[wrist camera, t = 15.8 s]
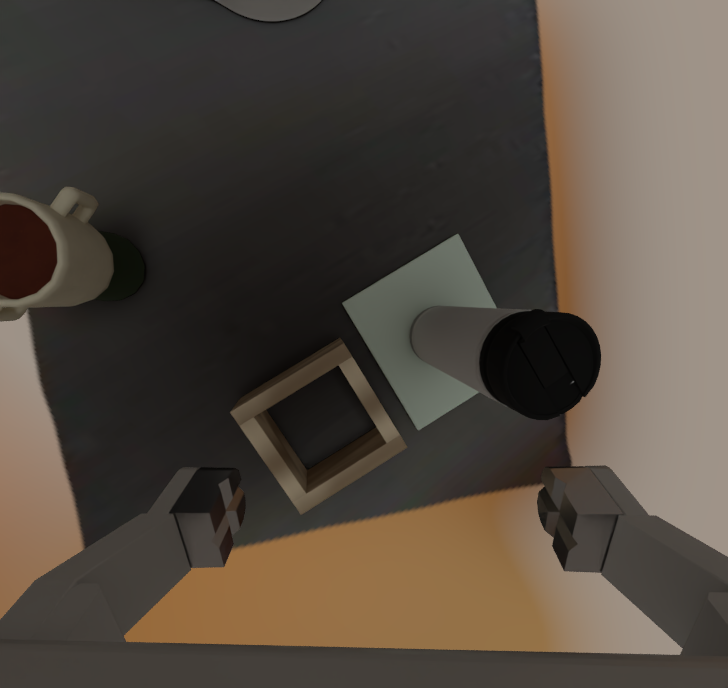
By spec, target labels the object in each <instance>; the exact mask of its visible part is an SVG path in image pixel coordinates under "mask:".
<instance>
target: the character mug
mask: <svg viewBox="0 0 728 688" xmlns="http://www.w3.org/2000/svg"><path fill="white" fill-rule="evenodd" d="M76 203H77V204H79V206H78V207H77V209H76V210H75V211H74V213H73V214H70V213H69V212H70V210H71V209H72V207H73V206H74V204H76ZM98 205H99V204H98V202H97V200H96V199H95V198H94V196H92V195H90V194H87V193H85V192H83V191H81V190H79V189H77V188H73V187H64V188H63V189H62V190H61V191H60V192H59V194H58V195H57V197H56V198H55V200H54V201H53V203H52V204H51V205H50V206H49V205H46V204H43V203H40V202H37V201H34V200H31V199H28V198H26V197H23V196H20V195H18V194H12V193H1V192H0V321H13V320H17V319H19V318H20V317H21V316H22V315H23V314H24V313H25V312H26V310H27V309H28V307H63V306H75V305H78V304H81V303H84V302H87V301H90V300H93V299H96V300H102V301H111V300H122V299H124V298H126V297H128V296H130V295H132V294H134V293H135V292H136V291H137V289H138V288H139V287H140V285H141V284H142V282H143V281H144V268H145V265H144V263H143V260H142V258H141V255H140V253H139V251H138V250H137V249H136V248H135V247H134V246H133V245H132V244H131V243H130V242H129V241H128V239H125V238H123V237H121V236H118V235H116V234H114V233H108V232H102V231H97V230H96V229H95V228H94V227H93V226H92V225H91V224H90V223H89V222H88V221H89V219H90V218H91V216H92V215H93V214H94V212H95V211H96V209H97V207H98Z"/></svg>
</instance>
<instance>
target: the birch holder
mask: <svg viewBox="0 0 728 688" xmlns="http://www.w3.org/2000/svg"><path fill="white" fill-rule="evenodd" d="M338 365H339V367H340V369H341V370H342V372H343V373H344V375H345V377H346V378H347V380H348V381H349V383H350V385H351V386H352V388H353V390H354V391H355V393H356V394H357V396H358V398H359V399H360V401H361V403H362V404H363V406H364V407H365V409H366V411H367V412H368V414H369V415H370V417H371V419H372V420H373V422H374V424H375V425H376V428H374V429H372V430H371V431H369V432H368V433H366V434H364V435H363V436H361V437H360V438H358V439H356V440H355V441H353V442H352V443H350V444H348V445H347V446H345V447H344V448H342V449H341V450H339V451H337V452H336V453H334V454H333V455H331V456H329V457H328V458H326V459H325V460H323V461H321V462H320V463H318V464H317V465H315V466H313V467H312V468H310V469H309V470H306V468H305V467H304V465H303V464H302V462H301V461H300V459H299V458H298V456H297V455H296V453H295V452H294V450H293V449H292V447H291V446H290V444H289V443H288V441H287V440H286V438H285V437H284V435H283V434H282V432H281V431H280V430H279V428H278V427H277V425H276V424H275V422H274V421H273V419H272V418H271V416H270V415H269V413H268V412H267V410H266V409H268V408H269V407H271V406H273V405H274V404H276V403H277V402H279V401H281V400H282V399H284V398H286V397H287V396H289V395H291V394H292V393H294V392H295V391H297V390H299V389H300V388H302V387H304V386H305V385H307V384H309V383H310V382H312V381H313V380H315V379H317V378H318V377H320V376H322V375H323V374H325V373H326V372H328V371H330V370H331V369H333V368H335V367H336V366H338ZM230 413H231V414H232V416H233V417H234V419H235V420H236V422H237V423H238V425H239V426H240V427H241V429H242V430H243V432H244V433H245V435H246V436H247V437H248V439H249V440H250V442H251V443H252V445H253V446H254V448H255V449H256V450H257V452H258V453H259V455H260V456H261V458H262V459H263V461H264V462H265V463H266V465H267V466H268V468H269V469H270V471H271V472H272V473H273V475H274V476H275V478H276V479H277V481H278V482H279V484H280V485H281V486H282V488H283V489H284V491H285V492H286V494H287V495H288V497H289V498H290V499H291V501H292V502H293V504H294V505H295V507H296V508H297V509H298V511H299V512H300V514H301V515H302V514H303V513H305V512H306V511H308V510H310V509H311V508H313V507H314V506H316V505H317V504H319V503H321V502H322V501H324V500H325V499H327V498H328V497H330V496H332V495H333V494H335V493H336V492H338V491H339V490H341V489H343V488H344V487H346V486H347V485H349V484H351V483H352V482H354V481H355V480H357V479H358V478H360V477H362V476H363V475H365V474H366V473H368V472H369V471H371V470H373V469H374V468H376V467H377V466H379V465H380V464H382V463H384V462H385V461H387V460H388V459H390V458H392V457H393V456H395V455H396V454H398V453H399V452H401V451H403V450H404V449H406V448H407V446H406V444H405V443H404V441H403V439H402V438H401V436H400V434H399V433H398V431H397V429H396V428H395V426H394V424H393V423H392V421H391V420H390V418H389V416H388V415H387V413H386V411H385V410H384V408H383V406H382V405H381V403H380V401H379V400H378V398H377V397H376V395H375V393H374V392H373V390H372V388H371V387H370V385H369V383H368V382H367V380H366V378H365V377H364V375H363V373H362V372H361V370H360V369H359V367H358V365H357V364H356V362H355V360H354V359H353V357H352V355H351V354H350V352H349V350H348V349H347V347H346V346H345V344H344V342H343V341H342V340H341V338H339V339H337V340H335V341H334V342H332V343H330V344H329V345H327V346H325V347H324V348H322V349H320V350H319V351H317V352H315V353H314V354H312V355H311V356H309V357H307V358H306V359H304V360H302V361H301V362H299V363H297V364H296V365H294V366H292V367H291V368H289V369H287V370H286V371H284V372H283V373H281V374H279V375H278V376H276V377H274V378H273V379H271V380H269V381H268V382H266V383H264V384H263V385H261V386H259V387H258V388H256V389H255V390H253V391H251V392H250V393H248V394H246V395H245V396H243V397H241V398H240V399H239V401H238V402H237V403H236V405H235V406H234V408H233V409H232V410H231V412H230Z"/></svg>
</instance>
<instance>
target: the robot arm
mask: <svg viewBox="0 0 728 688" xmlns="http://www.w3.org/2000/svg"><path fill="white" fill-rule="evenodd" d="M215 1H217V2H218V3H220V4H222V5H223V6H225V7H227V8H229V9H230V10H232V11H234V12H236V13H238V14H240V15H243V16H245V17H248V18H252V19H256V20H261V21H283V20H288V19H292V18H295V17H298V16H300V15H302V14H304V13H306V12H308V11H310V10H311V9H312V8H314V7H315V6H316V5H317V4H319V3H320V2H321V1H322V0H215ZM541 480H542V482H543V484H544V486H545V487H544V488H543V489H541V491H539V493H538V500H537V505H538V514H539V517H540V521H541V523H542V526H543V528H544V530H545V531H546V532H547V533H549V534H550V535H551V536H552V537H554V540H553V545H552V546H553V549H554V551H555V553H556V555H557V557H558V559H559V561H560V563H561V565H562V567H563V570H564V571H574V572H598V573H602V575H603V576H604V577H605V578H606V579H607V580H608V581H609V582H610V583H611V584H612V585H613V586H615V587H616V588H617V589H618V590H619V591H620V592H621V593H622V594H623V595H624V596H626V597H627V598H628V599H629V600H630V601H631V602H632V603H633V604H634V605H636V606H637V607H638V608H639V609H640V610H641V611H642V612H643V613H644V614H645V615H646V616H648V617H649V618H650V619H651V620H652V621H653V622H654V623H655V624H656V625H658V626H659V627H660V628H661V629H662V630H663V631H664V632H665V633H666V634H668V636H670V637H671V638H672V639H673V640H674V641H675V642H676V643H677V644H678V645H680V646H681V647H682V648H683V649H682V652H681V654H680V655H655V654H612V653H611V654H610V653H571V652H569V653H568V652H525V651H523V652H522V651H478V650H476V651H475V650H434V649H394V648H353V647H351V648H350V647H313V646H312V647H311V646H271V645H230V644H229V645H228V644H187V643H144V642H126V640H125V638H124V635H125V634H126V633H127V632H128V631H129V630H130V629H131V628H132V627H133V626H134V625H135V624H136V623H137V622H138V621H139V620H140V619H141V618H142V617H143V616H144V615H145V614H146V613H147V612H148V611H149V610H150V609H151V608H152V607H153V606H154V605H155V604H156V603H158V602H159V601H160V599H162V598H163V597H164V596H165V595H166V594H167V593H168V592H169V591H170V590H171V589H172V588H173V587H174V586H175V585H176V584H177V583H178V582H179V581H180V580H181V579H182V578H183V577H184V576H185V575H186V574H187V573H188V572H189V571H190V570H191V568H204V567H224V566H225V564H226V561H227V559H228V557H229V554H230V552H231V549H232V547H233V545H234V542H233V538H232V535H233V534H234V533H236V532H237V531H238V530H239V529H240V528H241V525H242V523H243V520H244V515H245V510H246V499H245V494H244V492H243V491H242V490H241V489H240V488H239V487H238V486H239V484H240V481H241V476H240V472H239V470H238V469H236V468H214V467H201V468H196V467H183V468H181V469H179V470H178V471H177V473H176V474H175V475H174V477H173V478H172V480H171V481H170V482H169V484H168V485H167V486H166V488H165V489H164V491H163V492H162V493H161V495H160V496H159V498H158V499H157V500H156V502H155V503H154V504H153V506H152V507H151V509H150V510H149V511H148V513H147V514H140V515H138V516H137V517H135V518H134V519H132V520H130V521H129V522H127V523H126V524H124V525H122V526H121V527H119V528H118V529H116V530H115V531H113V532H111V533H110V534H108V535H107V536H105V537H103V538H102V539H100V540H99V541H97V542H95V543H94V544H92V545H91V546H89V547H87V548H86V549H84V550H83V551H81V552H80V553H78V554H77V555H75V556H73V557H72V558H70V559H68V560H67V561H65V562H64V563H62V564H60V565H59V566H57V567H56V568H54V569H53V570H51V571H49V572H48V573H46V574H44V575H43V576H41V577H40V578H38V579H37V580H35V581H34V582H33V583H32V584H31V586H30V587H29V588H28V589H27V590H26V591H25V592H24V593H23V595H22V596H21V597H20V598H19V599H18V600H17V602H16V603H15V604H14V605H13V606H12V607H11V608H10V610H8V612H7V613H6V614H5V615H4V616H3V617H2V618H1V620H0V688H728V557H727V556H725V555H723V554H722V553H720V552H718V551H716V550H715V549H713V548H711V547H709V546H708V545H706V544H704V543H703V542H701V541H699V540H697V539H696V538H694V537H692V536H690V535H689V534H687V533H685V532H683V531H682V530H680V529H678V528H676V527H675V526H673V525H671V524H669V523H668V522H666V521H664V520H663V519H661V518H659V517H657V516H649V515H648V514H647V512H646V511H645V510H644V509H643V507H642V506H641V505H640V504H639V502H638V501H637V500H636V499H635V498H634V496H633V495H632V494H631V493H630V491H629V490H628V489H627V488H626V487H625V485H624V484H623V483H622V482H621V481H620V479H619V478H618V477H617V476H616V474H615V473H614V472H613V471H612V470H611V469H610V468H609V467H607V466H585V467H583V466H579V467H545V468H544V470H543V471H542V476H541Z"/></svg>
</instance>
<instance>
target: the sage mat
mask: <svg viewBox="0 0 728 688" xmlns="http://www.w3.org/2000/svg"><path fill="white" fill-rule="evenodd" d="M342 305H343V306H344V308H345V310H346V311H347V313H348V315H349V316H350V318H351V320H352V321H353V323H354V325H355V326H356V328H357V330H358V332H359V333H360V335H361V337H362V338H363V340H364V342H365V343H366V345H367V347H368V348H369V350H370V352H371V353H372V355H373V357H374V358H375V360H376V362H377V363H378V365H379V367H380V368H381V370H382V372H383V373H384V375H385V377H386V378H387V380H388V382H389V383H390V385H391V387H392V388H393V390H394V392H395V394H396V395H397V397H398V399H399V400H400V402H401V404H402V405H403V407H404V409H405V410H406V412H407V414H408V415H409V417H410V419H411V420H412V422H413V424H414V425H415V427H416V428H417V430H420V429H422V428H423V427H425V426H426V425H428V424H430V423H431V422H433V421H434V420H436V419H437V418H439V417H441V416H442V415H444V414H445V413H447V412H449V411H450V410H452V409H453V408H455V407H456V406H458V405H460V404H461V403H463V402H464V401H466V400H468V399H469V398H471V397H472V396H474V395H475V394H477V393H479V392H478V391H477V390H475V389H473V388H471V387H469V386H467V385H466V384H464V383H462V382H460V381H458V380H457V379H455V378H453V377H451V376H449V375H448V374H446V373H444V372H442V371H440V370H438V369H437V368H435V367H433V366H431V365H429V364H428V363H426V362H424V361H422V360H421V359H420V358H418V357H417V355H416V354H415V353H414V351H413V349H412V347H411V344H410V337H409V336H410V329H411V326H412V323H413V321H414V319H415V318H416V317H417V316H418V315H419V314H420V313H421V312H422V311H424V310H425V309H427V308H430V307H433V306H455V307H477V308H496V306H495V304H494V302H493V300H492V298H491V296H490V294H489V292H488V290H487V288H486V287H485V285H484V283H483V281H482V279H481V277H480V275H479V273H478V271H477V269H476V267H475V265H474V263H473V261H472V259H471V258H470V256H469V254H468V252H467V250H466V248H465V246H464V244H463V242H462V240H461V238H460V236H459V234H456V235H454V236H452V237H451V238H449V239H447V240H446V241H444V242H442V243H441V244H439V245H437V246H436V247H434V248H432V249H431V250H429V251H427V252H426V253H424V254H422V255H421V256H419V257H417V258H416V259H414V260H412V261H411V262H409V263H407V264H406V265H404V266H402V267H401V268H399V269H397V270H396V271H394V272H392V273H391V274H389V275H387V276H386V277H384V278H382V279H381V280H379V281H377V282H376V283H374V284H372V285H371V286H369V287H367V288H366V289H364V290H362V291H361V292H359V293H358V294H356V295H354V296H353V297H351V298H349V299H348V300H346V301H344V302H343V303H342Z"/></svg>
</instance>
